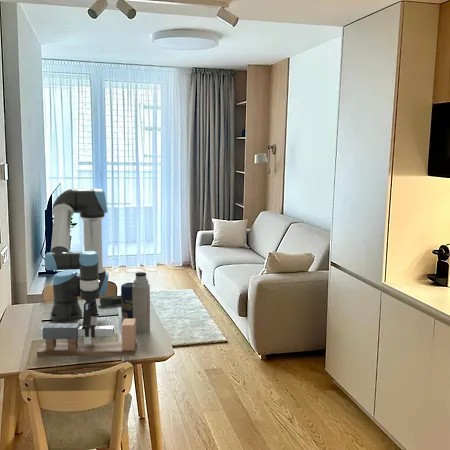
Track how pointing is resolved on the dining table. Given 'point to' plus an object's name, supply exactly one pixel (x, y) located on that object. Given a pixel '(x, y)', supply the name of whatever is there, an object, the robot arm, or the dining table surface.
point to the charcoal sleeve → (60, 331)
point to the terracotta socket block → (128, 334)
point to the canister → (127, 301)
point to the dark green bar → (110, 301)
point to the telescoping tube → (94, 331)
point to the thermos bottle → (141, 303)
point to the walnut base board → (83, 349)
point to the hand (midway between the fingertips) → (90, 337)
